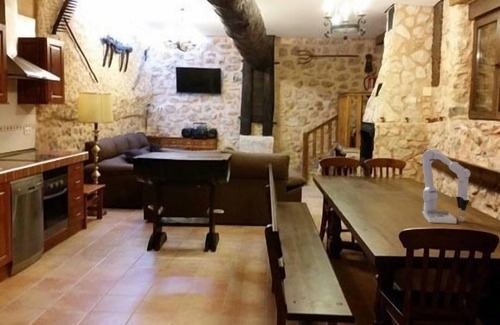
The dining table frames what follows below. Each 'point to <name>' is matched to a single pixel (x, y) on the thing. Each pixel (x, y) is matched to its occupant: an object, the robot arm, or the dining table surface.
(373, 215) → the dining table surface
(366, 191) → the dining table surface
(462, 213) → the peg
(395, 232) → the dining table surface
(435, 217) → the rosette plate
